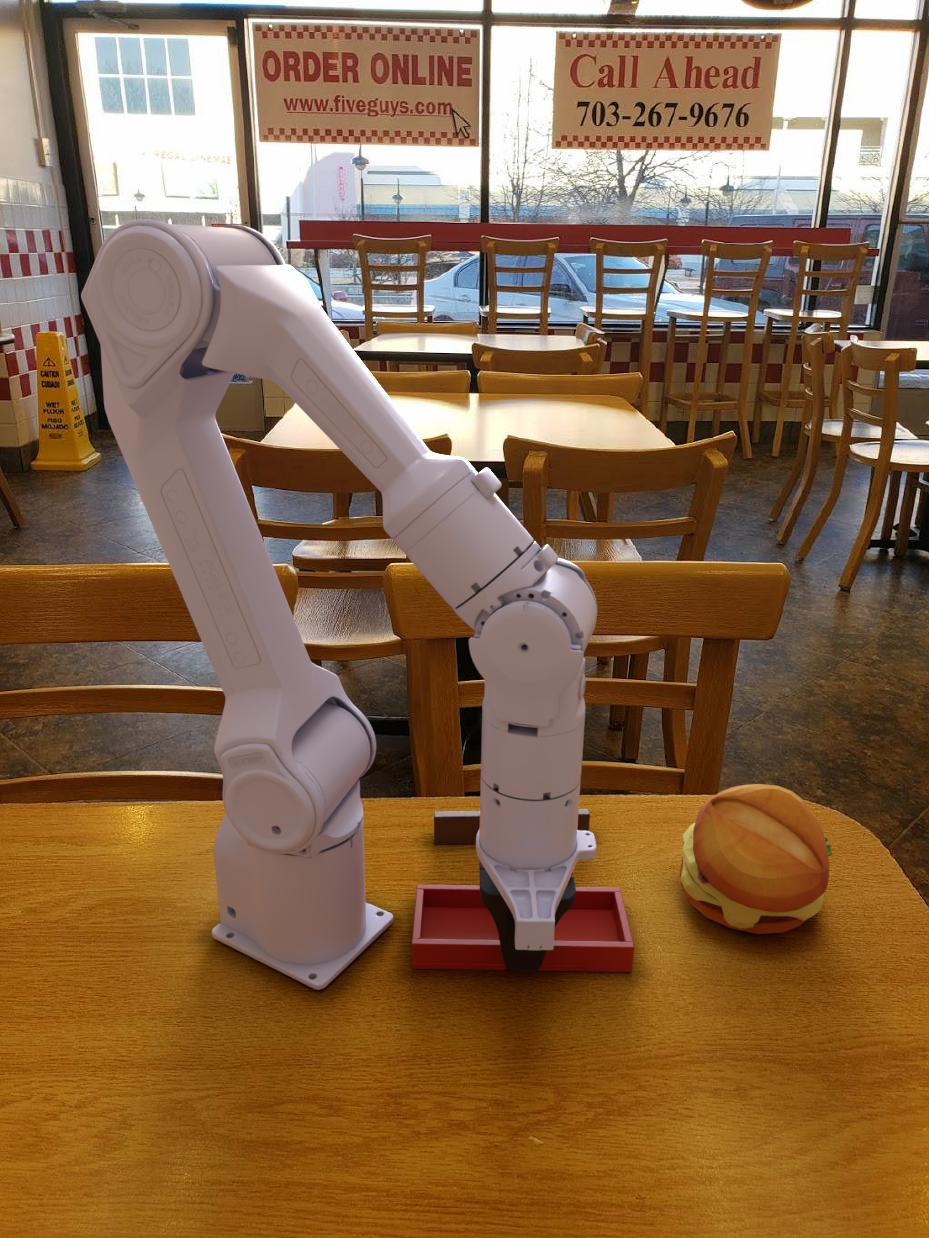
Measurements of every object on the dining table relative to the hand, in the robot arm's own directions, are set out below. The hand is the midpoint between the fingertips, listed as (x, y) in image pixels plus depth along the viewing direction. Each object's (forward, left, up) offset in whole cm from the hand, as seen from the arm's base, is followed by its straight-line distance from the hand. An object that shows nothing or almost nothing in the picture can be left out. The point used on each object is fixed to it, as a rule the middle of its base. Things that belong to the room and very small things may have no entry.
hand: (522, 964), depth 59 cm
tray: (-2, +3, -1) cm, 4 cm away
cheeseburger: (+10, +15, -1) cm, 18 cm away
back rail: (-8, +13, -1) cm, 15 cm away
